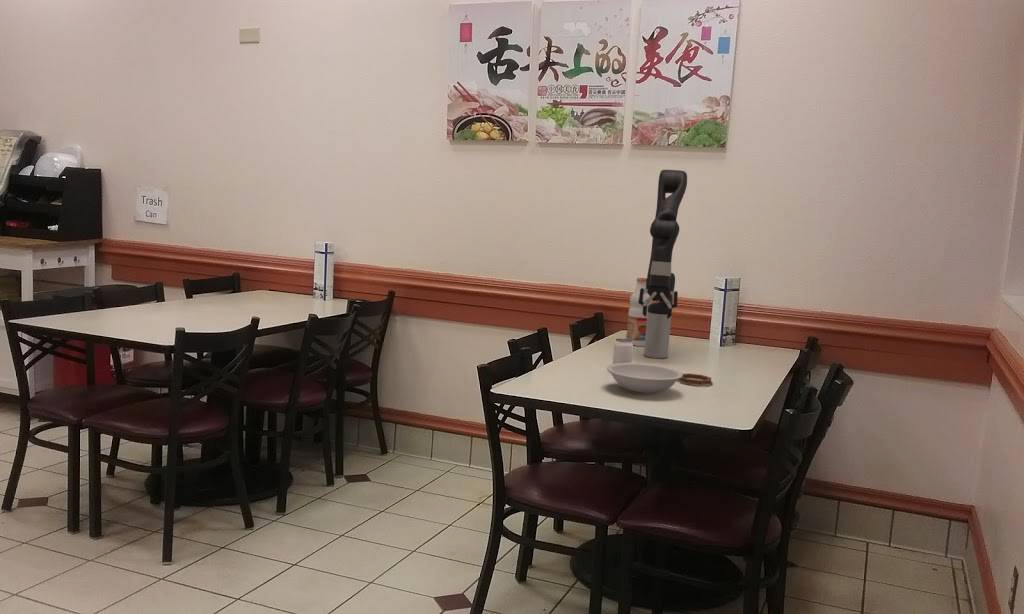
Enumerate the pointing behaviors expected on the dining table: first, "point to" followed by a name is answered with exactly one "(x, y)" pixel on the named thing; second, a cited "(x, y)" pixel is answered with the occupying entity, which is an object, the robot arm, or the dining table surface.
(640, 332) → the fruit juice
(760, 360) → the dining table surface
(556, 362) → the dining table surface
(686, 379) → the octagonal wooden coaster
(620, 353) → the can
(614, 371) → the soup bowl
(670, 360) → the dining table surface
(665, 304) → the robot arm
